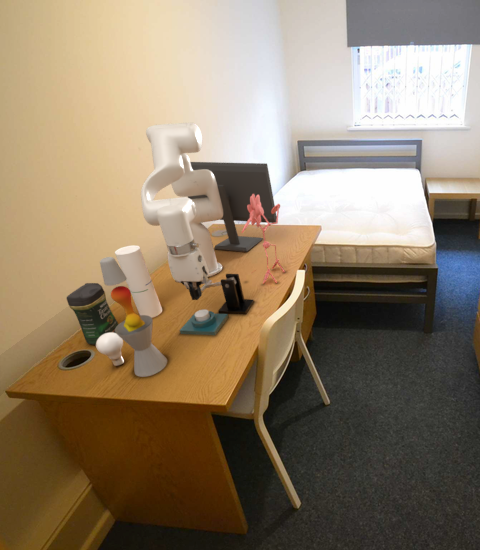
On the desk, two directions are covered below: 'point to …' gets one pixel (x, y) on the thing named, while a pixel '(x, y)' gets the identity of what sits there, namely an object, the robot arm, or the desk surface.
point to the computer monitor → (240, 198)
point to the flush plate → (204, 325)
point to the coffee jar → (92, 311)
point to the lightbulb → (111, 347)
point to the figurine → (255, 217)
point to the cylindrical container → (139, 280)
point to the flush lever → (214, 284)
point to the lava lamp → (133, 323)
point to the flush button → (202, 315)
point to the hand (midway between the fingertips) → (197, 297)
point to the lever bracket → (234, 297)
